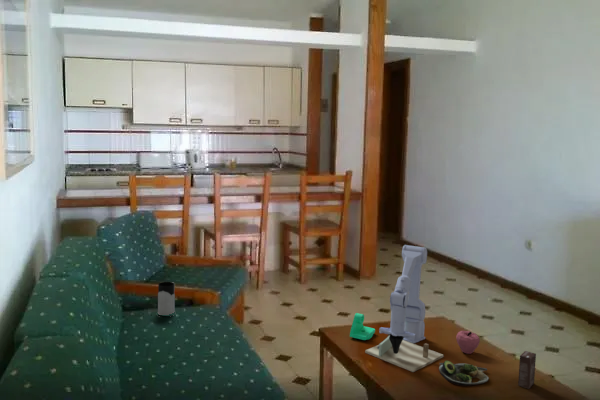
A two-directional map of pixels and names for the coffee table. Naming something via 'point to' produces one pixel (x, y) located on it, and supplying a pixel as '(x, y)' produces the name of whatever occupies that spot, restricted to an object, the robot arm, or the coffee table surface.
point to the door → (384, 346)
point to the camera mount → (360, 328)
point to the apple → (467, 341)
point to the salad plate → (462, 373)
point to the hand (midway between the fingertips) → (395, 352)
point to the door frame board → (408, 355)
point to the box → (527, 369)
